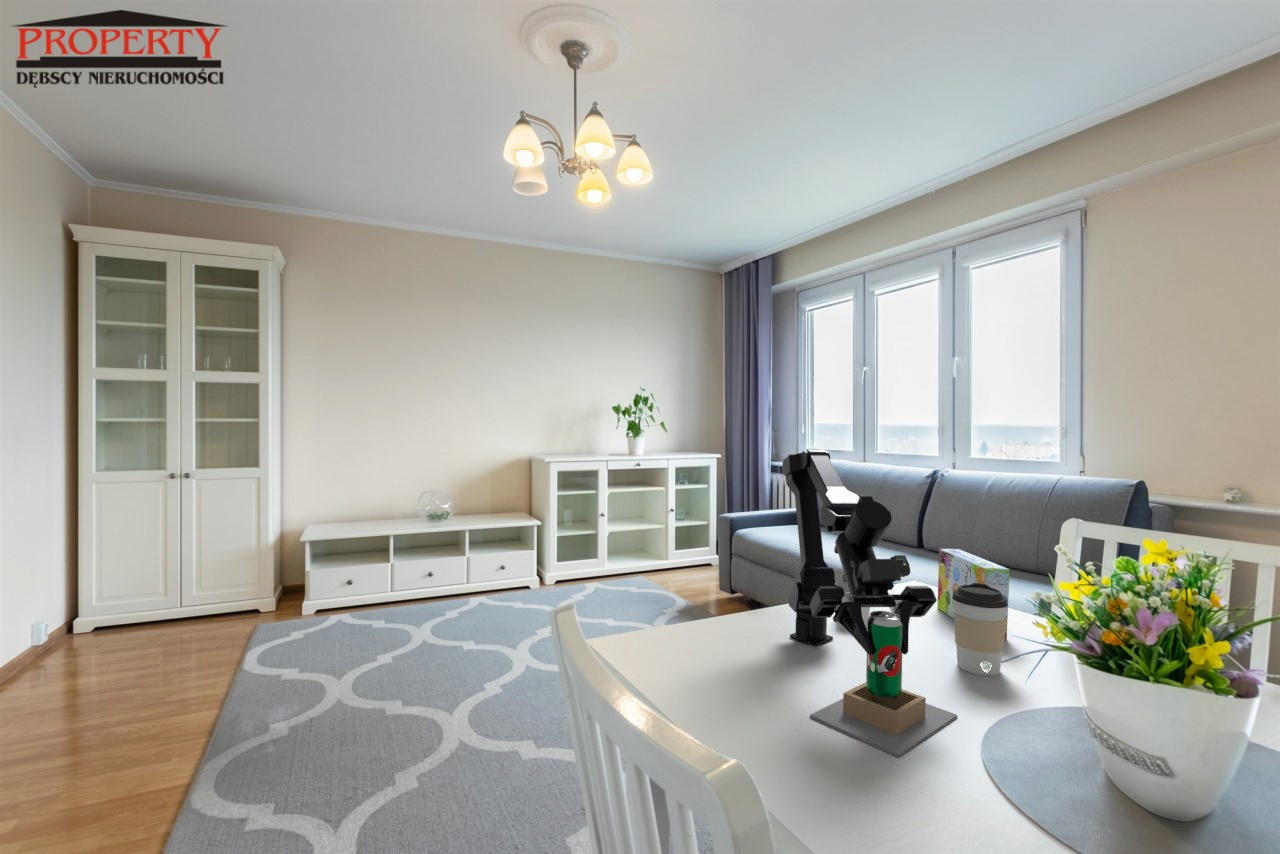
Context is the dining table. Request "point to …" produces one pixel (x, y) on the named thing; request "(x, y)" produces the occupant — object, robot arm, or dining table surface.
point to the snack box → (967, 577)
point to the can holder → (885, 719)
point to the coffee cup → (979, 627)
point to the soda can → (885, 655)
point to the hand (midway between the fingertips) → (888, 653)
